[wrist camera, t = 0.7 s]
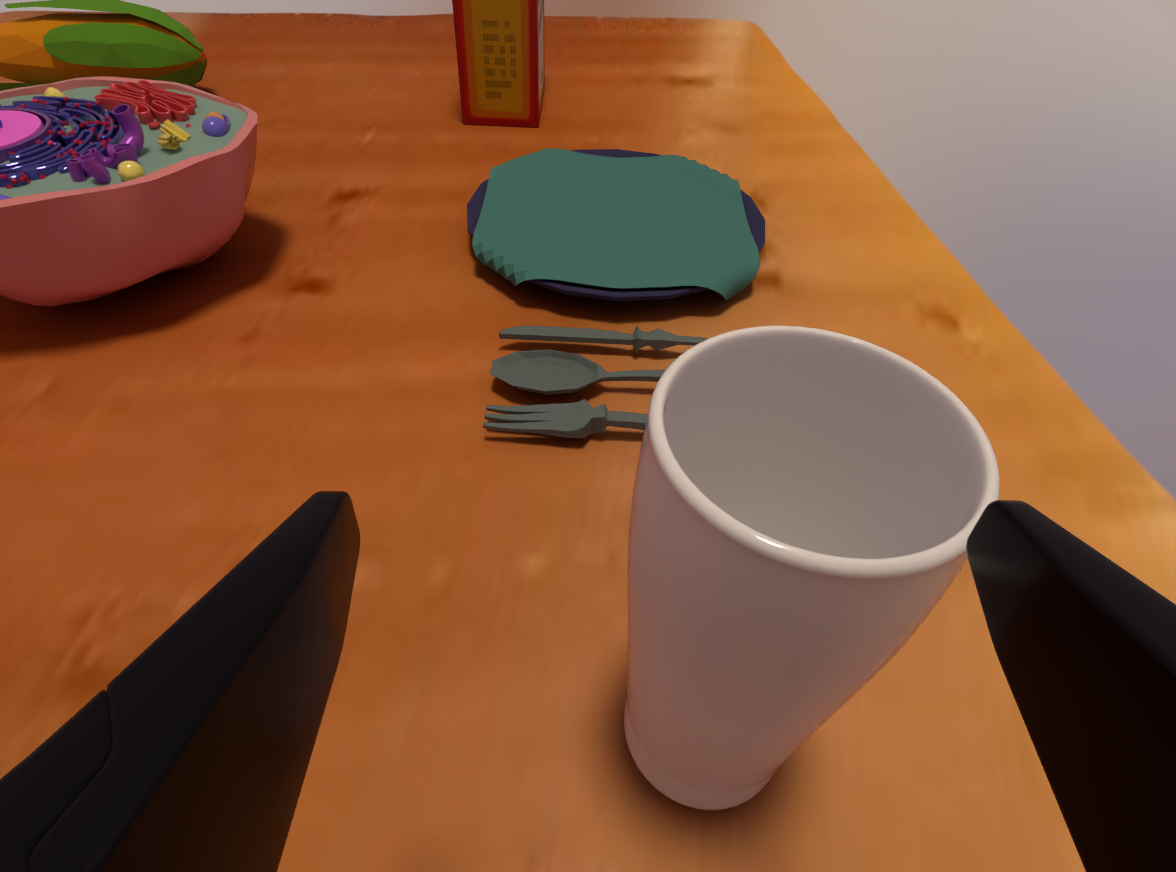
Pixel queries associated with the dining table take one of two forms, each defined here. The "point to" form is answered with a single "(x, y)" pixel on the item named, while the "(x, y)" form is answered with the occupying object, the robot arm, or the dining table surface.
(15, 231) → the cell model
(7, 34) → the corn
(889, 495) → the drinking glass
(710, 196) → the cutlery set
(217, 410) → the dining table surface
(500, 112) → the baking soda box
